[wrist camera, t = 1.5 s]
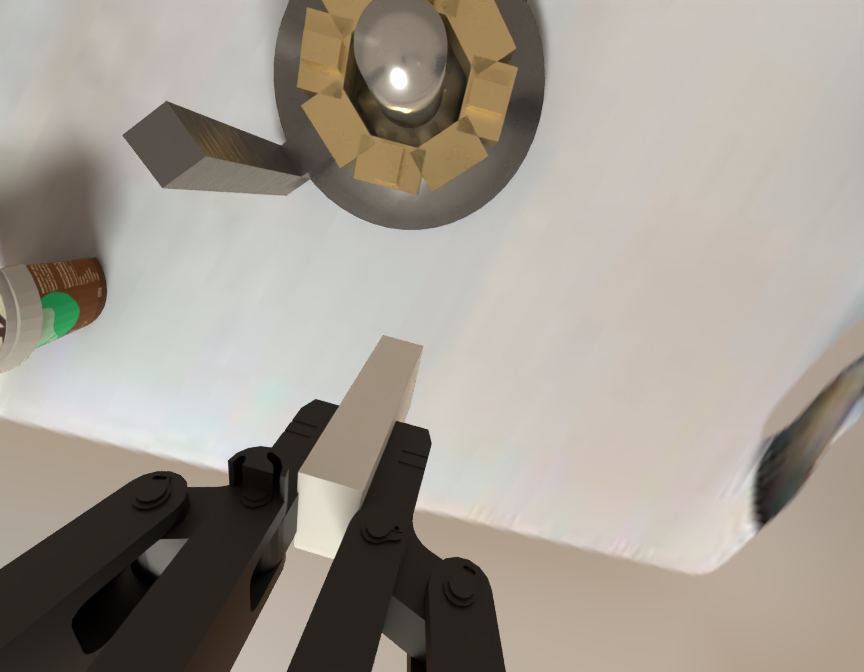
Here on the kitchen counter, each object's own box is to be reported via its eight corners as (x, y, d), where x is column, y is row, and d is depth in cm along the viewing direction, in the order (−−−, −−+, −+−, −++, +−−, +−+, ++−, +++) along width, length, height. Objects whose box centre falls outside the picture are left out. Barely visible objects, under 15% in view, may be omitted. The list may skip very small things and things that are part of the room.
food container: (38, 359, 39) (-89, 409, 30) (-5, 300, 37) (-154, 333, 28) (149, 314, 38) (54, 351, 28) (110, 250, 36) (-6, 267, 27)
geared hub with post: (442, -76, 27) (454, -412, 12) (538, 124, 31) (636, 51, 16) (217, 94, 30) (11, -11, 15) (329, 259, 34) (249, 302, 19)
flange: (556, -49, 30) (624, -188, 19) (520, 236, 36) (557, 249, 25) (276, -72, 29) (190, -226, 19) (288, 220, 35) (227, 227, 25)
